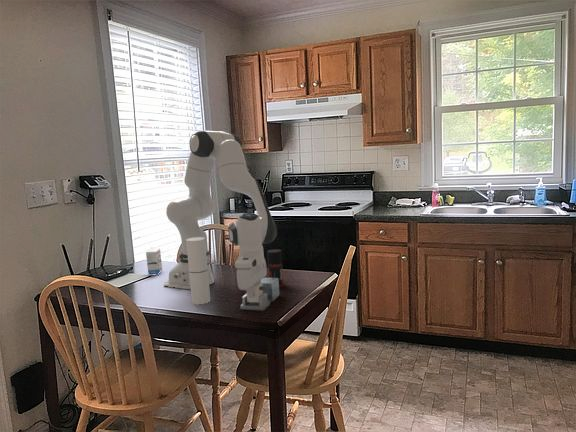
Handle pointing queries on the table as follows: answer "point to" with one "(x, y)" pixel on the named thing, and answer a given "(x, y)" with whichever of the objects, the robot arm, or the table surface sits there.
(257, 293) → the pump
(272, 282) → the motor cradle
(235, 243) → the robot arm
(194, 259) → the cylindrical container
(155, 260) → the ink box
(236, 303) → the table surface
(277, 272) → the deodorant
